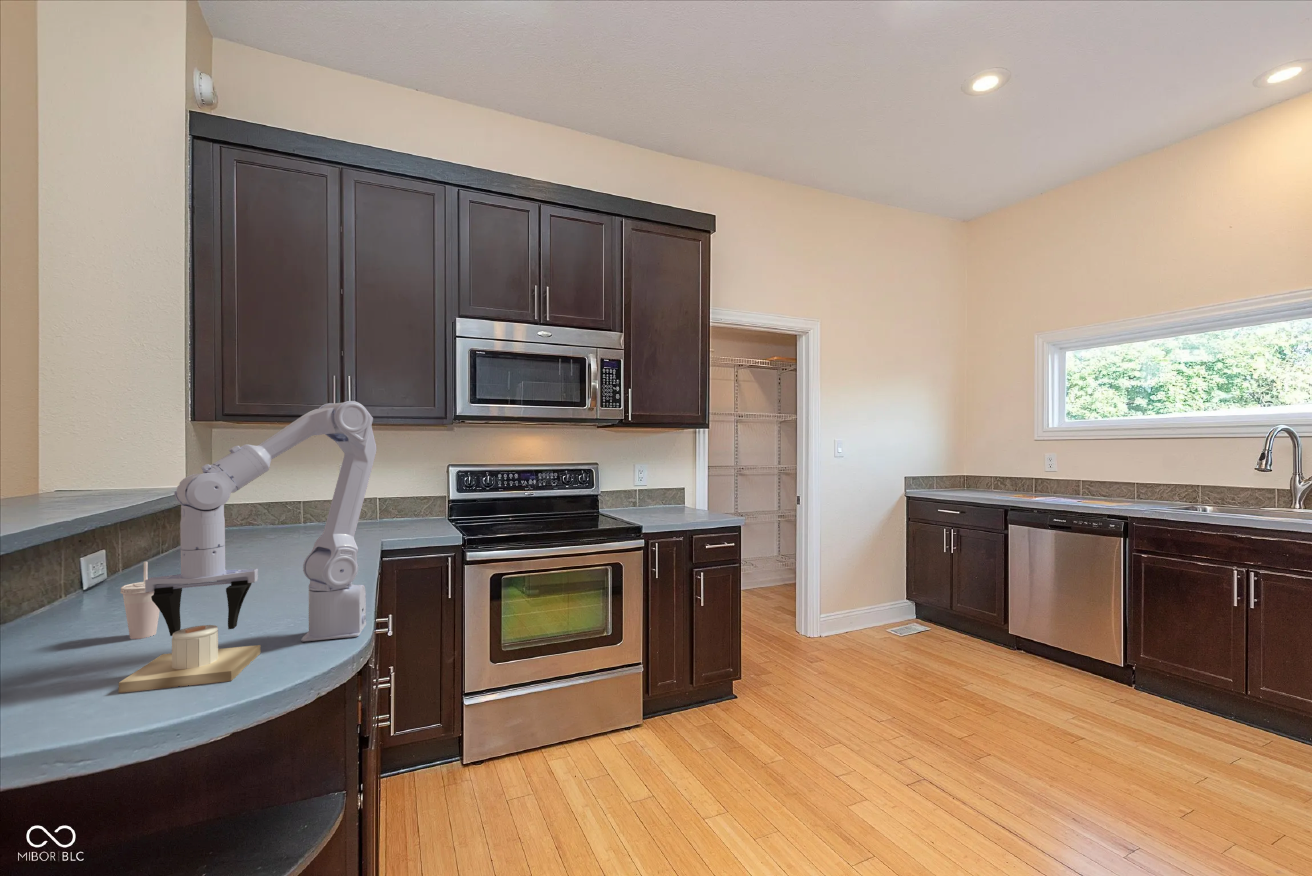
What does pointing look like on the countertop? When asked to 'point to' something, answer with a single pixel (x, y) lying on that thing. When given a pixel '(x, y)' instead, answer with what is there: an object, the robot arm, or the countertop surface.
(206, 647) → the cream short cylinder
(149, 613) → the smoothie
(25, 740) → the countertop surface
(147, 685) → the post board
